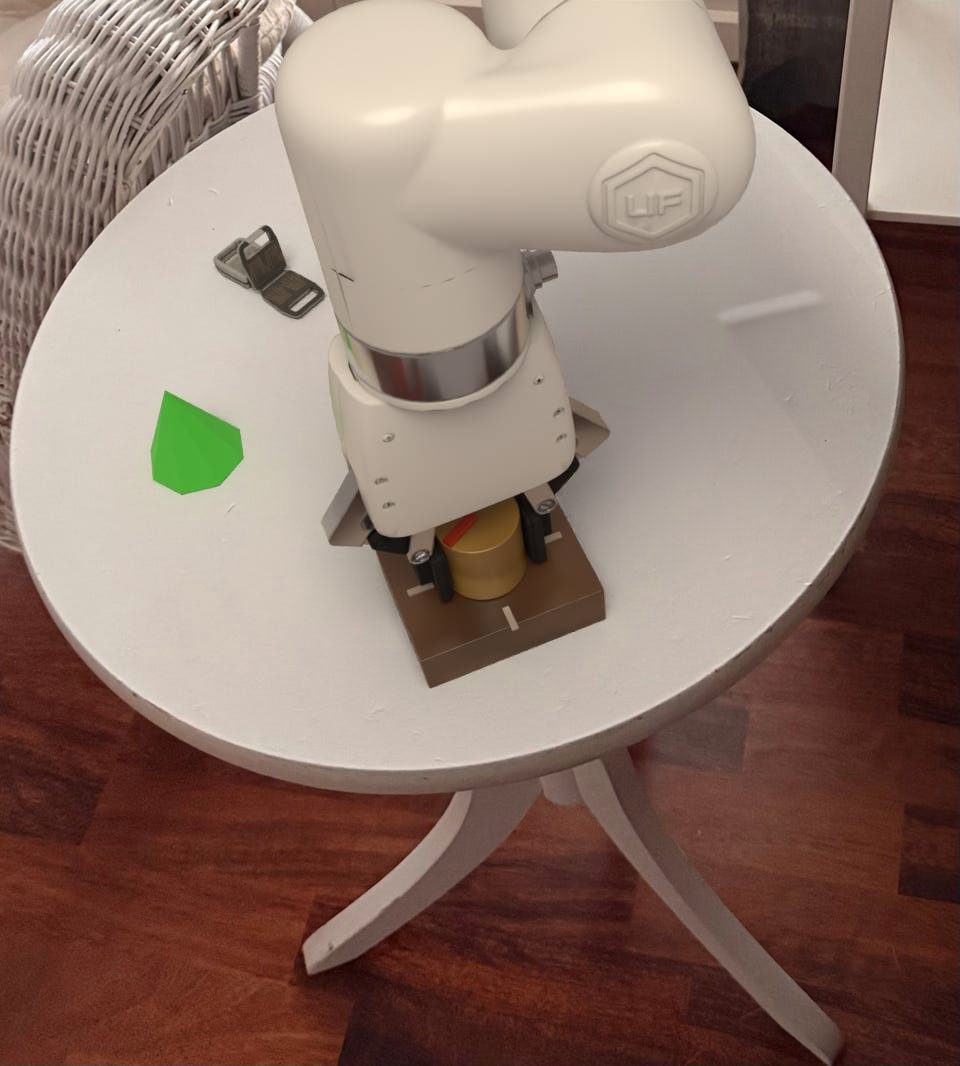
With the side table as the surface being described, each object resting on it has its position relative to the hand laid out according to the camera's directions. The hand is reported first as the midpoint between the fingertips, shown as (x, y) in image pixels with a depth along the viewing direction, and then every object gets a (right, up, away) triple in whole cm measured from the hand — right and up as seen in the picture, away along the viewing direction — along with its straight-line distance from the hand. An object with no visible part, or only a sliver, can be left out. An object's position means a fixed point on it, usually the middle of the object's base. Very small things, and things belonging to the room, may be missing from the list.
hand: (483, 558), depth 65 cm
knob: (0, 0, 0) cm, 0 cm away
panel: (0, -2, +3) cm, 4 cm away
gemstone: (-17, +6, +11) cm, 21 cm away
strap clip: (-14, +18, +18) cm, 29 cm away
